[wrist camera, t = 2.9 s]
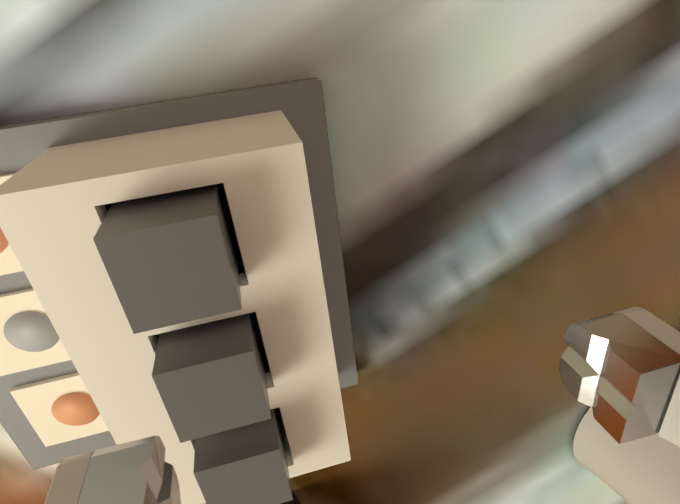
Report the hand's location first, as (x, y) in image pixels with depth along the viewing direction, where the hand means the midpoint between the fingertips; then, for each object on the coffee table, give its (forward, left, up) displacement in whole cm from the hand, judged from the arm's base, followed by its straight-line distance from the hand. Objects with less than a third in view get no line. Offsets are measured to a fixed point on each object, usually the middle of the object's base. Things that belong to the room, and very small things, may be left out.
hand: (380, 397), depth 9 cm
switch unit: (+8, +6, -16) cm, 19 cm away
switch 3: (+5, +11, -13) cm, 18 cm away
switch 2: (+5, +6, -13) cm, 15 cm away
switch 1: (+5, 0, -13) cm, 14 cm away
